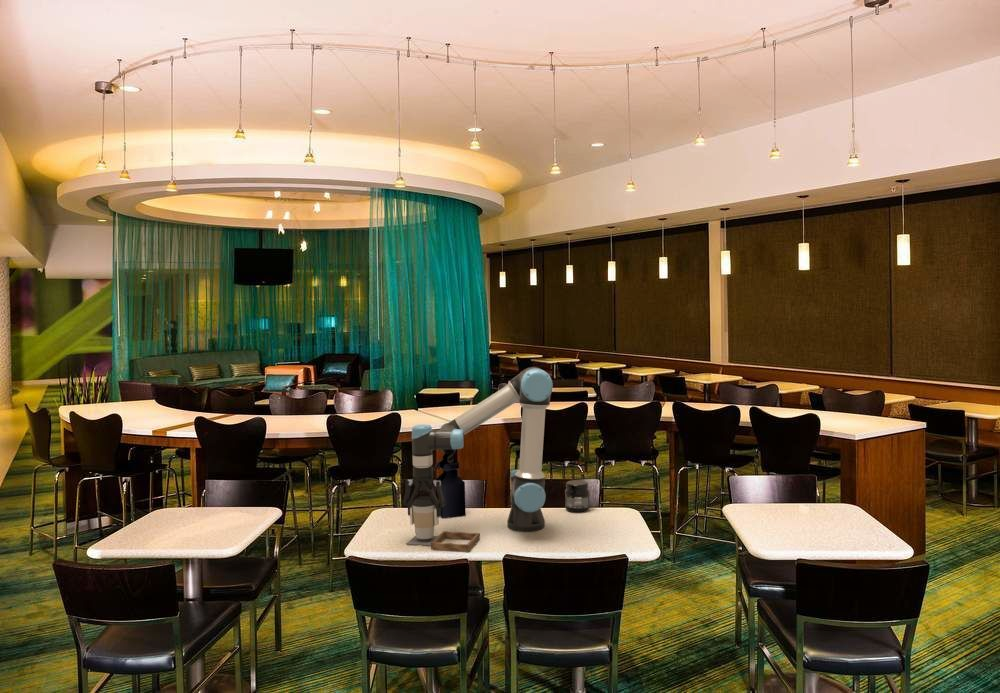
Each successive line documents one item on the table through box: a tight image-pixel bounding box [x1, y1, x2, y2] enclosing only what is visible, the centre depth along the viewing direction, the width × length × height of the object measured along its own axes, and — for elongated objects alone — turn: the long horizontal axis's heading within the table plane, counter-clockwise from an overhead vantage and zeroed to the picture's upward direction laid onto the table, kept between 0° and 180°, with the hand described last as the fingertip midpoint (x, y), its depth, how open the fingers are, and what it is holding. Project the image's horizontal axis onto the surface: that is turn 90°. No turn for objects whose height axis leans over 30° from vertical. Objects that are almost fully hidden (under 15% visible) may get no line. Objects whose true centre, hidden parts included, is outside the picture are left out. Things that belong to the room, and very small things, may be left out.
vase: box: [433, 449, 467, 520], centre depth 312 cm, size 14×12×35 cm
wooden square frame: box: [430, 530, 481, 553], centre depth 271 cm, size 14×14×2 cm
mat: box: [405, 535, 439, 547], centre depth 276 cm, size 11×11×1 cm
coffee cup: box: [412, 495, 436, 539], centre depth 276 cm, size 9×9×15 cm
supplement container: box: [564, 479, 590, 514], centre depth 314 cm, size 10×10×12 cm
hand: (424, 524), depth 276 cm, fingers closed on coffee cup, 9 cm apart
